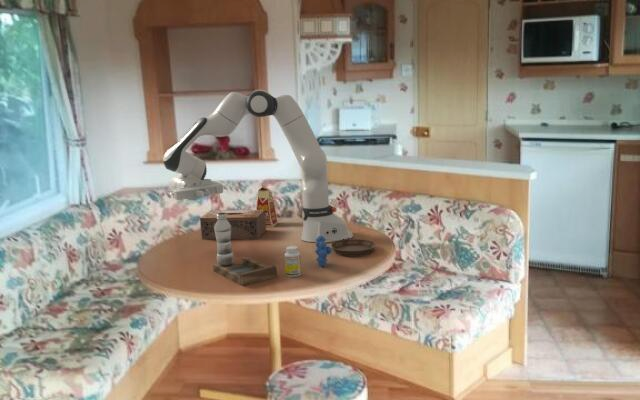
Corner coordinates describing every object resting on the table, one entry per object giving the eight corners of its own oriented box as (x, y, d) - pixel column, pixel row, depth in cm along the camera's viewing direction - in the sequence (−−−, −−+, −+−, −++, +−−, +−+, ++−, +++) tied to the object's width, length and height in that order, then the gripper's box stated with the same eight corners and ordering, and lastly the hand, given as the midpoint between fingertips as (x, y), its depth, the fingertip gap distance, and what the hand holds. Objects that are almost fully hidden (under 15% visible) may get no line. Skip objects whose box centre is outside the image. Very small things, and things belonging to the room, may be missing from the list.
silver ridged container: (237, 262, 241) (233, 212, 237) (229, 267, 235) (225, 216, 231) (222, 261, 243) (218, 211, 239) (213, 266, 237) (209, 215, 233)
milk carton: (273, 227, 294) (270, 185, 289) (254, 227, 295) (251, 185, 291) (278, 222, 302) (275, 181, 298) (259, 222, 304) (257, 181, 300)
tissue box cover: (265, 231, 288) (264, 209, 286) (258, 239, 274) (256, 217, 272) (211, 231, 292) (210, 210, 290) (201, 239, 278) (200, 217, 276)
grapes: (336, 270, 227) (334, 238, 224) (317, 271, 226) (315, 239, 223) (331, 260, 238) (330, 230, 235) (313, 262, 237) (312, 231, 235)
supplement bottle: (292, 271, 227) (291, 244, 225) (304, 274, 224) (303, 246, 222) (282, 275, 223) (280, 248, 221) (293, 278, 220) (292, 250, 218)
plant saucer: (351, 243, 261) (351, 236, 261) (384, 250, 249) (384, 242, 249) (322, 253, 249) (321, 245, 248) (356, 261, 237) (355, 253, 236)
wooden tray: (213, 270, 232) (212, 260, 232) (245, 262, 240) (245, 252, 239) (242, 285, 214) (241, 274, 214) (276, 276, 222) (276, 266, 221)
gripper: (166, 185, 248) (180, 189, 237) (213, 178, 260) (228, 182, 249) (168, 200, 249) (182, 206, 238) (214, 193, 261) (230, 197, 250)
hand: (206, 193), depth 244 cm, fingers closed
